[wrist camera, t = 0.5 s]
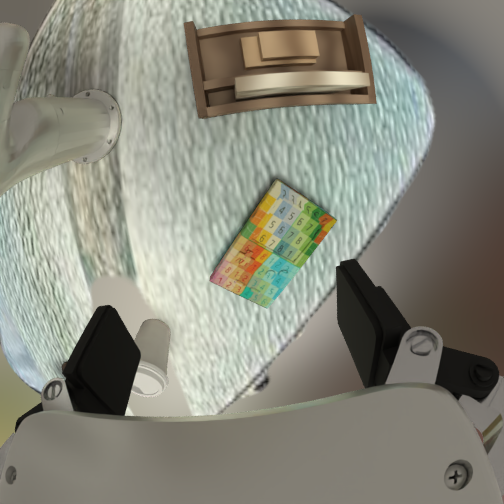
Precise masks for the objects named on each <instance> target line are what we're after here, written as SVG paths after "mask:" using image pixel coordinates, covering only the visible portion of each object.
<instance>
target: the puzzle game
mask: <svg viewBox="0 0 504 504" xmlns="http://www.w3.org/2000/svg"><path fill="white" fill-rule="evenodd" d="M336 221H337V220H336V219H335V218H334V217H333V216H331V215H330V214H329V213H327V212H326V211H324V210H323V209H322V208H320V207H319V206H317V205H316V204H314V203H313V202H312V201H310V200H309V199H307V198H306V197H304V196H303V195H301V194H300V193H298V192H297V191H295V190H294V189H292V188H291V187H289V186H288V185H286V184H285V183H283V182H282V181H280V180H279V179H276V180H275V181H274V183H273V184H272V186H271V187H270V189H269V190H268V192H267V193H266V194H265V196H264V197H263V199H262V200H261V202H260V203H259V205H258V206H257V208H256V209H255V211H254V212H253V214H252V215H251V216H250V218H249V219H248V221H247V222H246V224H245V225H244V227H243V228H242V230H241V231H240V233H239V234H238V236H237V237H236V239H235V240H234V242H233V243H232V245H231V246H230V248H229V249H228V251H227V252H226V254H225V255H224V257H223V258H222V260H221V261H220V263H219V264H218V266H217V267H216V269H215V270H214V272H213V273H212V275H211V276H210V281H211V282H213V283H215V284H217V285H219V286H221V287H223V288H225V289H227V290H229V291H231V292H233V293H235V294H237V295H239V296H241V297H243V298H246V299H248V300H250V301H252V302H254V303H256V304H258V305H260V306H263V307H265V308H268V307H269V306H270V305H271V304H272V303H273V301H274V300H275V299H276V298H277V297H278V295H279V294H280V293H281V292H282V290H283V289H284V288H285V287H286V286H287V284H288V283H289V282H290V281H291V279H292V278H293V277H294V276H295V274H296V273H297V272H298V271H299V269H300V268H301V267H302V266H303V264H304V263H305V262H306V260H307V259H308V258H309V257H310V255H311V254H312V253H313V252H314V250H315V249H316V248H317V246H318V245H319V244H320V242H321V241H322V240H323V239H324V237H325V236H326V235H327V233H328V232H329V231H330V229H331V228H332V227H333V225H334V224H335V223H336Z"/></svg>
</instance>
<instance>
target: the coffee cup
mask: <svg viewBox="0 0 504 504" xmlns="http://www.w3.org/2000/svg"><path fill="white" fill-rule="evenodd" d="M169 341H170V329H169V327H168V326H167V325H166V324H165V323H164V322H162V321H160V320H157V319H148V320H146V321H144V322H143V324H142V325H141V327H140V330H139V332H138V334H137V336H136V338H135V340H134V342H135V343H136V345H137V346H138V348H139V350H140V352H141V359H140V362H139V366H138V369H137V372H136V376H135V379H134V383H133V386H132V390H131V392H132V393H134V394H137V395H139V396H144V397H156V396H158V395H160V394H161V393H162V392H163V391H164V390H165V389H166V387H167V386H168V382H169V381H168V377H167V363H168V352H169Z"/></svg>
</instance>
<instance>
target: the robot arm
mask: <svg viewBox="0 0 504 504" xmlns="http://www.w3.org/2000/svg"><path fill="white" fill-rule="evenodd" d="M29 45H30V38H29V34H28V32H27V31H26V30H25V29H24V28H23V27H21V26H18V25H15V24H11V23H2V22H0V197H1V196H2V195H3V194H4V193H5V192H6V191H8V190H9V189H10V188H11V187H13V186H14V185H16V184H18V183H19V182H21V181H23V180H25V179H27V178H29V177H31V176H34V175H36V174H38V173H41V172H43V171H45V170H48V169H50V168H53V167H55V166H58V165H60V164H63V163H66V162H68V161H71V160H72V161H74V162H76V163H80V164H89V163H93V162H96V161H98V160H100V159H102V158H103V157H105V156H106V155H107V154H108V153H109V152H110V151H111V150H112V148H113V147H114V145H115V143H116V142H117V139H118V137H119V134H120V129H121V113H120V110H119V107H118V105H117V103H116V101H115V100H114V99H113V98H112V96H110V95H109V94H108V93H106V92H104V91H101V90H95V89H89V90H84V91H82V92H80V93H78V94H76V95H75V96H73V97H72V98H69V97H56V96H54V95H52V94H49V95H48V96H47V97H31V98H25V99H22V100H19V101H17V102H15V103H14V100H15V96H16V92H17V88H18V84H19V81H20V77H21V74H22V70H23V67H24V64H25V61H26V57H27V54H28V50H29ZM89 94H90V95H89ZM113 107H114V109H113ZM111 140H112V143H111ZM86 158H87V159H86ZM336 281H337V320H338V324H339V327H340V330H341V332H342V334H343V336H344V339H345V341H346V344H347V346H348V348H349V351H350V353H351V355H352V358H353V360H354V362H355V365H356V368H357V370H358V372H359V375H360V377H361V380H362V382H363V385H364V387H365V389H361V390H357V391H352V392H348V393H344V394H340V395H336V396H332V397H328V398H323V399H318V400H313V401H309V402H304V403H299V404H293V405H288V406H283V407H277V408H271V409H263V410H256V411H248V412H240V413H231V414H219V415H205V416H186V417H140V416H124V415H125V412H126V408H127V404H128V401H129V397H130V393H131V390H132V386H133V383H134V379H135V376H136V372H137V369H138V366H139V362H140V359H141V352H140V350H139V348H138V346H137V345H136V343H135V342H134V340H133V338H132V337H131V335H130V333H129V332H128V330H127V328H126V327H125V325H124V323H123V321H122V320H121V318H120V316H119V314H118V312H117V311H116V309H115V308H113V307H112V306H110V305H105V306H99V307H98V308H97V309H96V311H95V312H94V314H93V316H92V318H91V319H90V321H89V323H88V325H87V326H86V328H85V330H84V332H83V334H82V335H81V337H80V339H79V341H78V343H77V345H76V346H75V348H74V350H73V352H72V354H71V356H70V358H69V360H68V362H67V364H66V366H65V368H64V370H63V372H62V374H63V375H64V376H65V377H66V380H65V381H64V380H63V379H62V378H58V377H57V378H53V379H51V380H50V381H48V382H47V383H46V384H45V386H44V387H43V389H42V392H41V400H42V402H41V403H40V404H38V405H37V406H35V407H34V408H32V409H31V410H30V411H28V412H27V413H25V414H24V415H22V416H21V417H20V418H18V420H17V422H16V427H15V434H14V433H13V434H12V435H11V436H10V437H9V439H8V440H7V441H6V442H5V443H4V444H3V445H2V447H1V448H0V504H503V501H502V496H503V494H504V377H501V376H500V375H499V371H498V368H497V366H496V365H495V363H494V362H493V361H491V360H490V359H488V358H485V357H482V356H477V355H474V354H470V353H466V352H462V351H458V350H455V349H451V348H447V347H444V346H443V341H442V339H441V336H440V335H439V334H438V333H437V332H436V331H434V330H433V329H430V328H428V327H414V328H412V329H411V327H410V326H409V324H408V323H407V322H406V320H405V318H404V317H403V316H402V314H401V313H400V311H399V310H398V308H397V307H396V306H395V304H394V303H393V302H392V300H391V299H390V298H389V296H388V295H387V293H386V292H385V290H384V289H383V288H382V287H381V286H378V287H375V285H374V284H373V283H372V281H371V280H370V278H369V277H368V276H367V274H366V273H365V271H364V270H363V269H362V268H361V266H360V265H359V263H358V262H357V261H356V260H355V259H350V260H346V261H341V262H340V266H337V267H336ZM472 422H473V423H474V424H473V423H472ZM475 427H476V428H477V429H478V430H479V431H480V432H481V433H482V435H483V438H484V442H483V443H482V442H481V439H480V437H479V435H478V433H477V431H476V429H475Z"/></svg>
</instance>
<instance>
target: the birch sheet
mask: <svg viewBox="0 0 504 504" xmlns="http://www.w3.org/2000/svg"><path fill="white" fill-rule="evenodd" d="M367 86H370V80H369V73H360V72H335V71H314V72H288V73H274V74H263V75H253V76H245V77H238V78H235V88H234V93H235V100H236V102H237V101H244V100H252V99H260V98H269V97H279V96H292V95H309V94H330V93H335V92H340V91H345V90H350V89H355V88H361V87H367Z"/></svg>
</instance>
